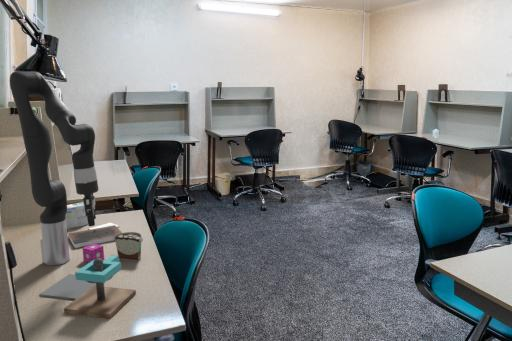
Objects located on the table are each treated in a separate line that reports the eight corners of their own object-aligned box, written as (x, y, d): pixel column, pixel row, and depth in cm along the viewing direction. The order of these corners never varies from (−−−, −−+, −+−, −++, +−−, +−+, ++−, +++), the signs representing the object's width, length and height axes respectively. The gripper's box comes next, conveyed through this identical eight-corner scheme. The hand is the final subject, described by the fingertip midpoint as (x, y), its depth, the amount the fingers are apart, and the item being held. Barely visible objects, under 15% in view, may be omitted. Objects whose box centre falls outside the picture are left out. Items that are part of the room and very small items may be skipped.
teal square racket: (75, 279, 134) (75, 272, 134) (102, 260, 149) (102, 254, 148) (104, 282, 132) (103, 275, 132) (128, 263, 147) (128, 256, 146)
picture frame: (74, 249, 187) (124, 239, 199) (74, 243, 187) (124, 234, 198) (68, 238, 201) (115, 229, 212) (68, 232, 200) (114, 224, 212)
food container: (149, 255, 179) (148, 233, 177) (142, 261, 173) (140, 238, 171) (123, 253, 182) (122, 230, 180) (115, 258, 176) (113, 235, 174)
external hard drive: (87, 231, 211) (110, 225, 220) (96, 235, 206) (119, 228, 215) (87, 228, 211) (110, 222, 220) (96, 231, 206) (119, 225, 215)
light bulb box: (84, 221, 224) (82, 201, 222) (88, 224, 219) (87, 204, 217) (63, 225, 218) (61, 205, 216) (67, 229, 213) (65, 208, 211)
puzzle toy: (95, 256, 178) (94, 243, 177) (104, 259, 176) (103, 246, 174) (83, 261, 174) (82, 248, 173) (92, 264, 171) (91, 250, 170)
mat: (39, 295, 145) (39, 294, 145) (69, 275, 160) (69, 274, 160) (78, 300, 142) (78, 298, 142) (105, 279, 157) (105, 277, 157)
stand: (64, 312, 134) (59, 266, 131) (93, 289, 149) (90, 247, 146) (110, 318, 131) (106, 271, 128) (135, 293, 146) (133, 251, 143)
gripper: (76, 177, 161) (82, 218, 164) (73, 185, 147) (80, 229, 150) (97, 175, 163) (103, 215, 166) (96, 182, 149) (102, 226, 153)
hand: (92, 222), depth 158 cm, fingers open, 8 cm apart
